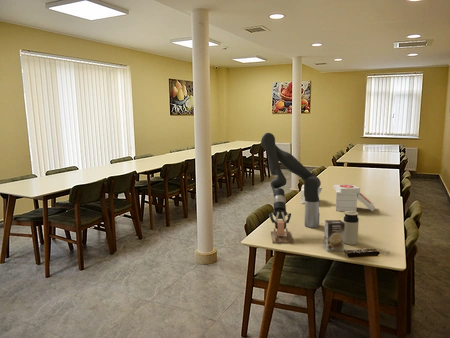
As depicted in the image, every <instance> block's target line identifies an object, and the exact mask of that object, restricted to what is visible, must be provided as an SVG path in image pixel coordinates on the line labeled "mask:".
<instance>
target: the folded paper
mask: <svg viewBox="0 0 450 338" xmlns="http://www.w3.org/2000/svg"><path fill="white" fill-rule="evenodd" d="M322 190H323V187H321V186H320V187H319V188H318V196H319V197H320V196H321V192H322ZM300 204H301V205H303V204H305V197H304V184H302V186H301V190H300Z"/></svg>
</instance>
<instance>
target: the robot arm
mask: <svg viewBox="0 0 450 338" xmlns="http://www.w3.org/2000/svg"><path fill="white" fill-rule="evenodd" d="M260 146H261V147H262V148H263V150H265V151H266V152H267V161H268V167H269V168H268V169H269V172H270V175H272V176H276V177H274V178H272V179H271V180H270V186H271V189H272V193H273V203H272V204H273V212H269V214H268V216H269V218H270V221H271V223H272V224H274V228H275V229H276V230H277V229H278V226H277V220H281V221H284V230H286V228H287V224H289V223H290V221H291V216H292V213H291V212H290V213H289V212H287V205H286V193H285V190H284V188H282V187H284V186H286V184H287V178H286V177H285V175H284V173H283V171H282V169H281V166H280V164H281V165H282V166H283V167H284V168H286V169H287V170H288V171H289V172H291V174H295V175H297V177H299V178H301V180H302V181H303V182H304V183H303V185H304V197H305V203H304V226H305V227H307V228H319V227H320V196H318V188H319V187H321V184H322V183H321V179H320V178H319V177H317V176H316V175H315V174H314V173H313V172H311V171H310V170H308V169H307V168H306V167H305V165H303V164H302V163H301V162H300V161H299V160H298V159H297V158H296V157H295V156H294V155H292V154H291V153H290V152H288V151H285V150H282V149H281V148H279V147H278V146H277V144H276V138H275V135H274V134H273V133H271V132H265V133H264V134H263V135H262V137H261V140H260ZM286 216H287V220H286ZM274 217H275V219H274Z"/></svg>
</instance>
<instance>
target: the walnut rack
mask: <svg viewBox="0 0 450 338" xmlns="http://www.w3.org/2000/svg"><path fill="white" fill-rule="evenodd" d="M270 236H271V242H272V244H294V240H293V237H292V233H291V231H289V230H288V228H287V227H286V229H285V230H284V235H277V229H276V228H275V227H274V228H273V231H270Z"/></svg>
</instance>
